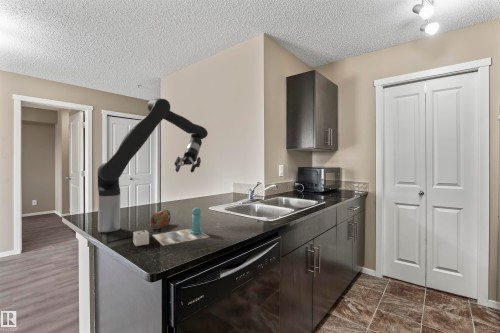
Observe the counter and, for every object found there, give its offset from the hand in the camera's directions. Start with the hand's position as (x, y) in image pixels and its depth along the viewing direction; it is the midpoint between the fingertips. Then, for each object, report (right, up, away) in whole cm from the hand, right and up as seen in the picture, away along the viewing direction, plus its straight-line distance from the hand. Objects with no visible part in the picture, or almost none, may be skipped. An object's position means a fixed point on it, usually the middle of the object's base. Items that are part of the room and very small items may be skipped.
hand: (184, 171), depth 134 cm
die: (-8, -29, -34) cm, 46 cm away
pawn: (+11, -29, -19) cm, 36 cm away
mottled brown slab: (-10, -29, -9) cm, 32 cm away
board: (+5, -29, -24) cm, 38 cm away
